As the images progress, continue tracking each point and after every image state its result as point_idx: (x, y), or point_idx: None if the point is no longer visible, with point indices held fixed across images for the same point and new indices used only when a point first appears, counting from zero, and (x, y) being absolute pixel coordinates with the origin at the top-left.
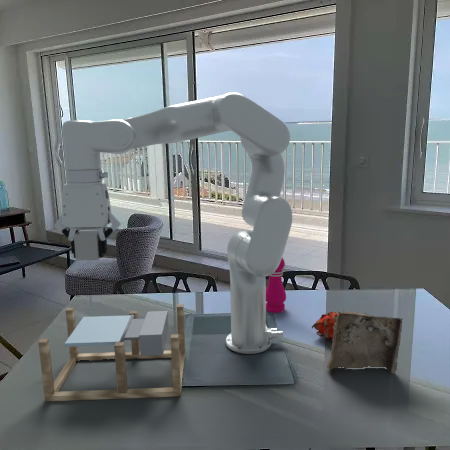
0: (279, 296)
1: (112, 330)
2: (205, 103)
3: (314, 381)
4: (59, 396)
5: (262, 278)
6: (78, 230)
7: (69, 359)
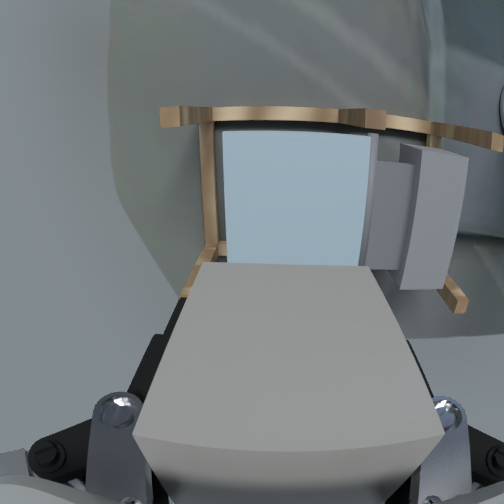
0: None
1: (331, 231)
2: None
3: None
4: None
5: None
6: (147, 476)
7: (201, 132)
